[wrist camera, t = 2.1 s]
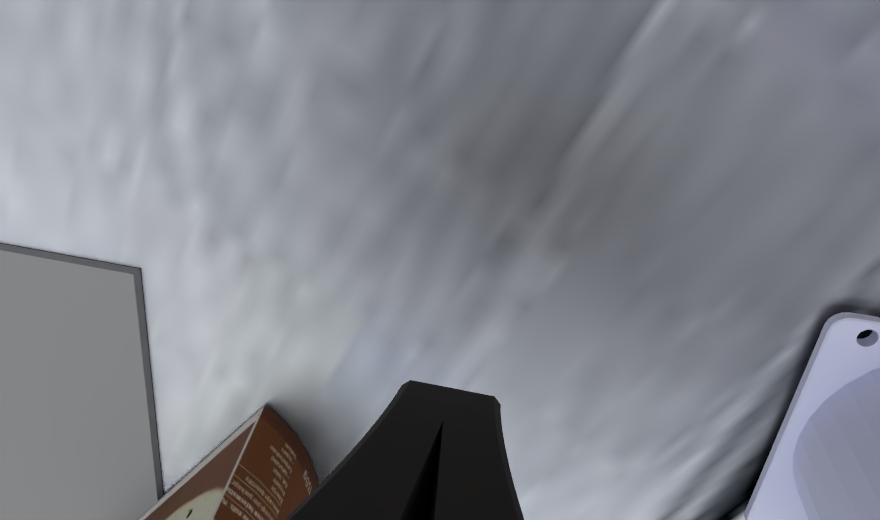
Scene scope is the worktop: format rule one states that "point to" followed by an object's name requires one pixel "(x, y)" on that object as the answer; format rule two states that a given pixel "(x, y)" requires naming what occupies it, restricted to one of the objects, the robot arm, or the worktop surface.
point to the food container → (244, 477)
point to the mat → (74, 390)
